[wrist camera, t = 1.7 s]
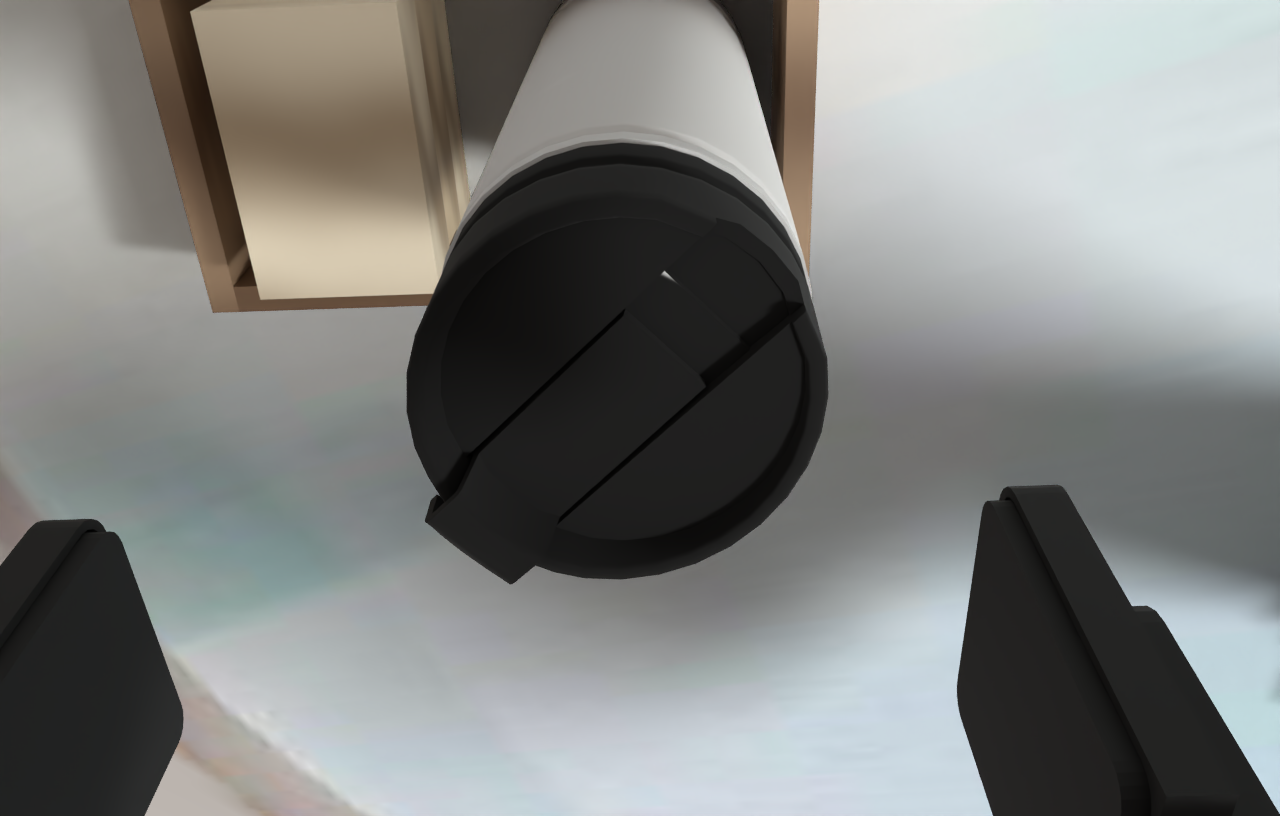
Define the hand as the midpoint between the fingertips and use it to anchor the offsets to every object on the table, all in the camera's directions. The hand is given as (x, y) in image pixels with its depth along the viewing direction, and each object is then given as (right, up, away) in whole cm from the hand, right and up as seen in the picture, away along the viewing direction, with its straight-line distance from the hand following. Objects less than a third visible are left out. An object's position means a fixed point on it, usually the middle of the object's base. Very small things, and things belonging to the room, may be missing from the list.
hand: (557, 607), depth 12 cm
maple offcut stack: (-7, +12, +21) cm, 25 cm away
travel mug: (+1, +12, +21) cm, 24 cm away
